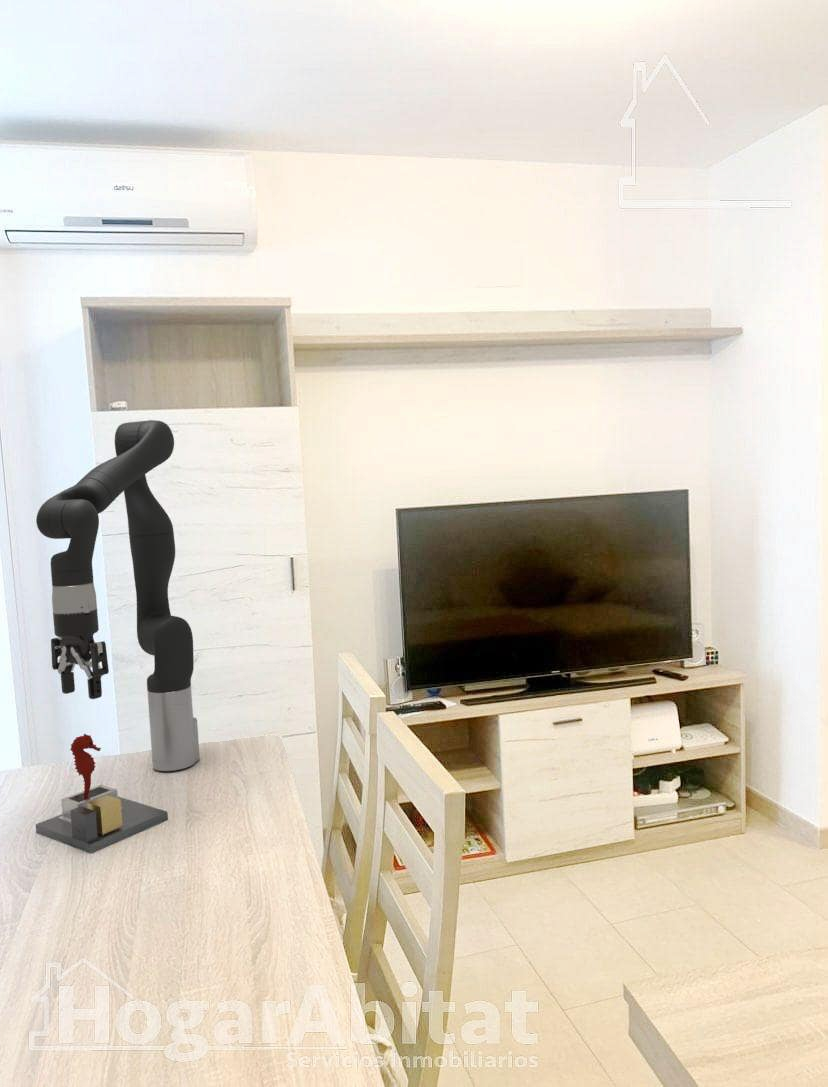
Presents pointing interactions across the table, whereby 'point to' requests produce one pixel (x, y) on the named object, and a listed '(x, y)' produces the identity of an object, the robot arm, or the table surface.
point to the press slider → (107, 813)
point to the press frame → (82, 827)
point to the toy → (84, 759)
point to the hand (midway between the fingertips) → (82, 695)
